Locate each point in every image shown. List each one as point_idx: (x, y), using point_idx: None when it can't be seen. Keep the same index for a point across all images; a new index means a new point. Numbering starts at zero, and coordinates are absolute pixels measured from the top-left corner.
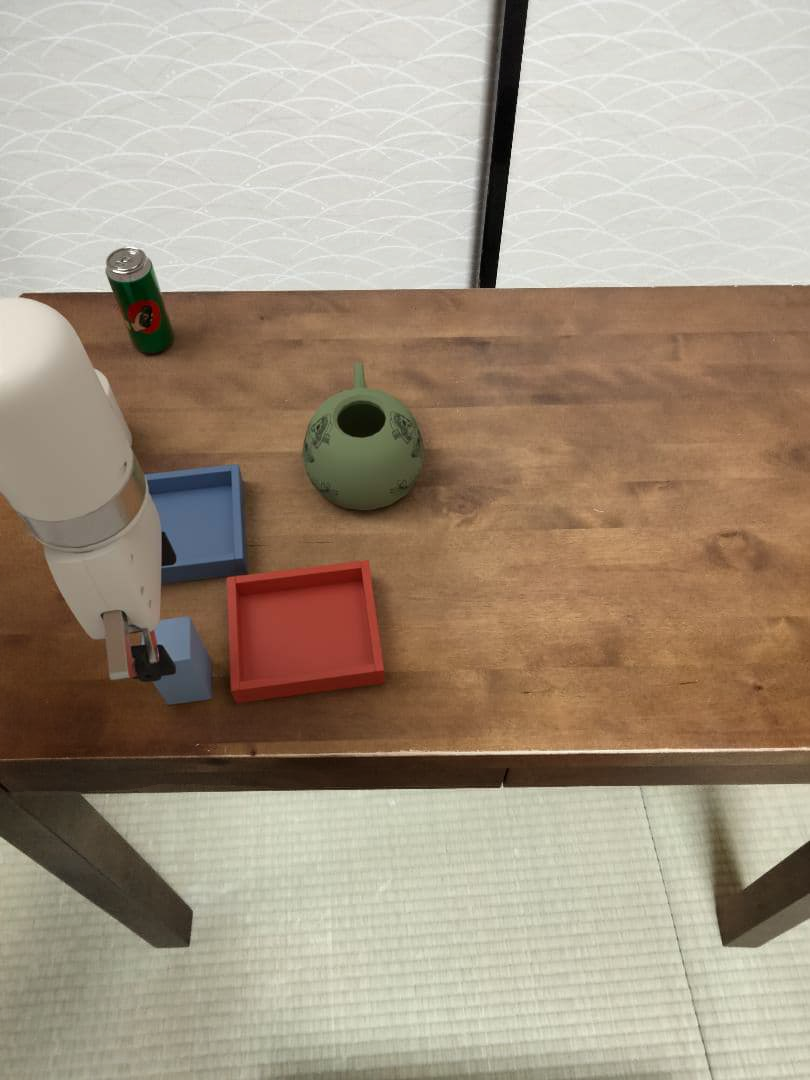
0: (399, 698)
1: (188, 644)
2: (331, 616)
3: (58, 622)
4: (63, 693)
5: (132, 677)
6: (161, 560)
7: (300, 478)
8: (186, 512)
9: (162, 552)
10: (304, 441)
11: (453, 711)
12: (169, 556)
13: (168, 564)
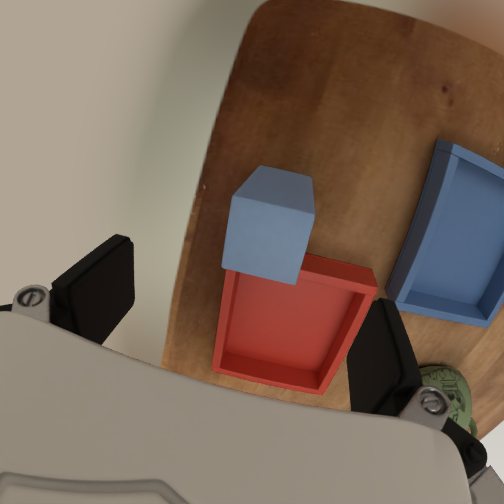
0: (203, 353)
1: (246, 271)
2: (295, 343)
3: (416, 70)
4: (318, 52)
5: (112, 236)
6: (356, 355)
7: (445, 353)
8: (480, 253)
9: (355, 384)
10: (457, 395)
11: (185, 373)
12: (350, 377)
13: (350, 350)
